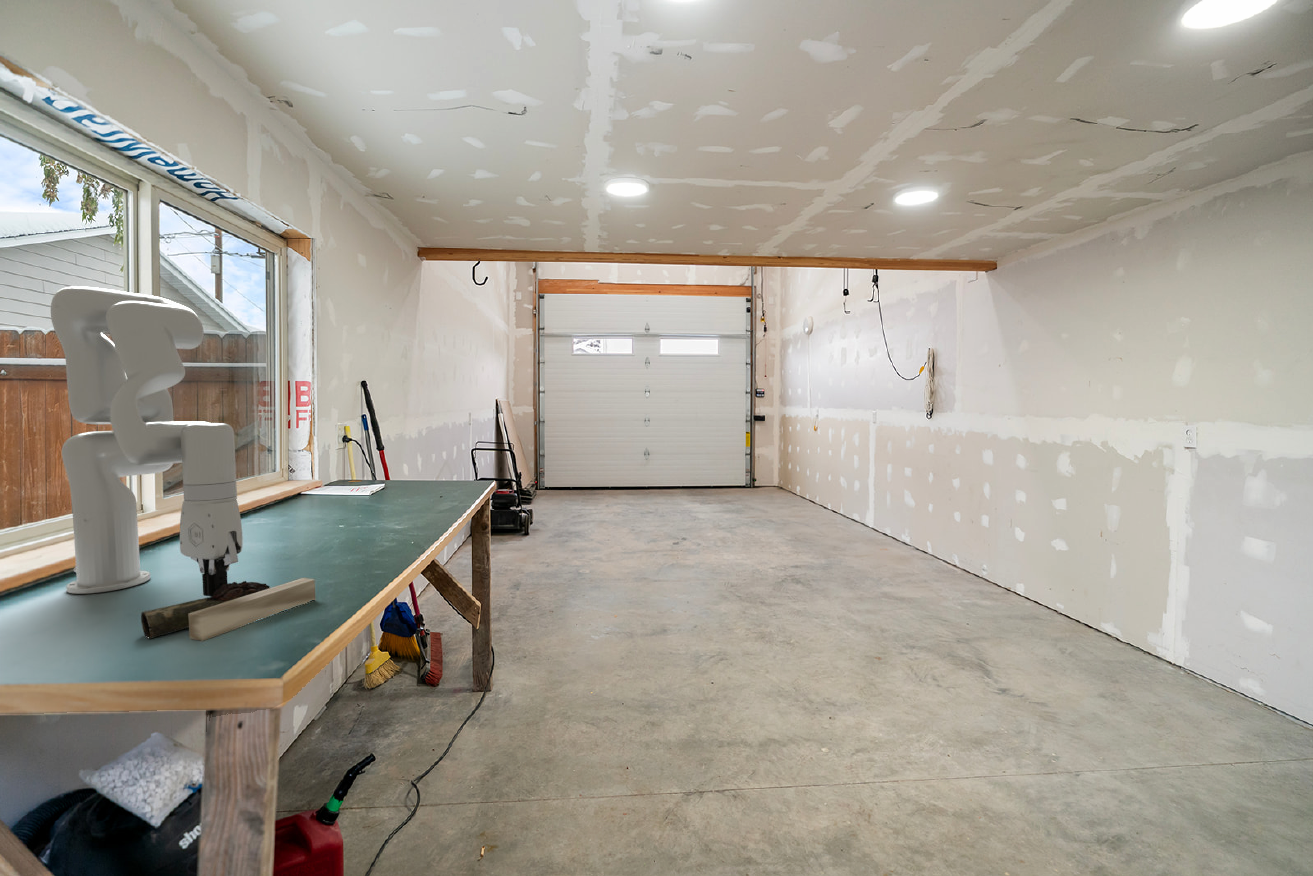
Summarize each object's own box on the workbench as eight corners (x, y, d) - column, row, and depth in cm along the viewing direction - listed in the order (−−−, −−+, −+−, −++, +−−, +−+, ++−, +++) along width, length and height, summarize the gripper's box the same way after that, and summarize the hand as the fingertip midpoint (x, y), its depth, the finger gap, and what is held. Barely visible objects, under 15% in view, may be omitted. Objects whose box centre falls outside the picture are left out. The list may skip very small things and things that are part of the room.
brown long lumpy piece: (149, 643, 91) (146, 607, 91) (139, 633, 95) (137, 599, 95) (276, 610, 105) (275, 580, 105) (263, 603, 109) (261, 573, 109)
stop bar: (189, 638, 92) (188, 613, 92) (303, 598, 111) (303, 577, 111) (202, 641, 91) (201, 616, 91) (315, 600, 110) (314, 579, 110)
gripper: (159, 493, 102) (164, 596, 104) (217, 498, 97) (222, 605, 99) (204, 487, 110) (209, 583, 111) (261, 491, 105) (265, 592, 106)
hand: (215, 593), depth 105 cm, fingers closed
